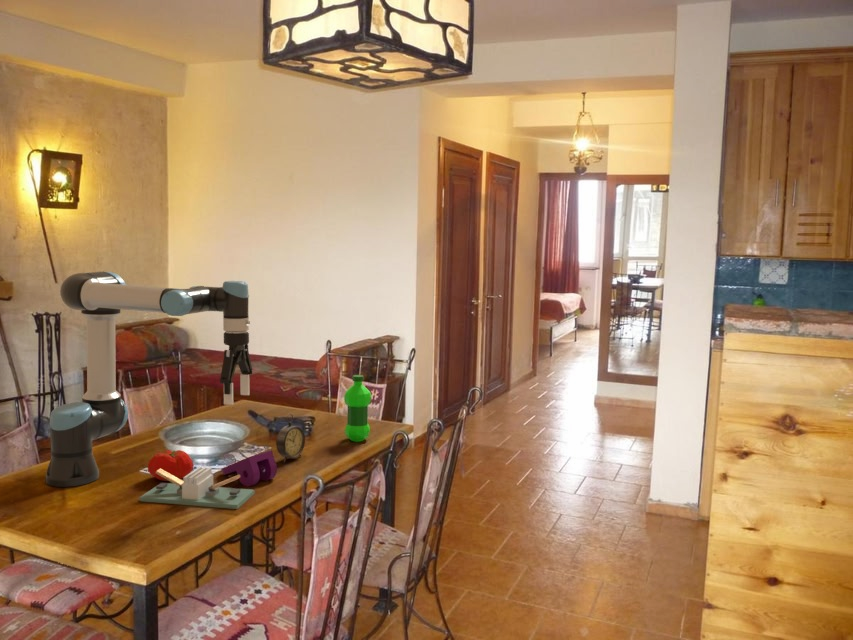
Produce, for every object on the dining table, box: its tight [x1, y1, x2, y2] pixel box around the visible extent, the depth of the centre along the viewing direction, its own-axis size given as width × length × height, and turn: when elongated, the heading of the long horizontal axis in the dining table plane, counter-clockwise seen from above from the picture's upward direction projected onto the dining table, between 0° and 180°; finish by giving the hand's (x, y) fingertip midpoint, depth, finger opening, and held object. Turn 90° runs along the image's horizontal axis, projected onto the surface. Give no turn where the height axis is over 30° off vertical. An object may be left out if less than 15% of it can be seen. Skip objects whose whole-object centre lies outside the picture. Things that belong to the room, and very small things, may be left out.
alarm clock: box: [275, 413, 306, 464], centre depth 257 cm, size 11×5×16 cm, turn 150°
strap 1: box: [156, 468, 184, 488], centre depth 219 cm, size 10×3×1 cm, turn 82°
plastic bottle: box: [343, 374, 372, 443], centre depth 283 cm, size 10×10×25 cm
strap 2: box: [208, 474, 241, 491], centre depth 217 cm, size 10×3×1 cm, turn 81°
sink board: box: [138, 466, 255, 510], centre depth 218 cm, size 30×13×8 cm, turn 81°
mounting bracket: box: [221, 450, 278, 487], centre depth 236 cm, size 9×8×18 cm
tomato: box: [147, 449, 195, 482], centre depth 235 cm, size 14×13×9 cm
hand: (237, 399), depth 228 cm, fingers open, 13 cm apart
